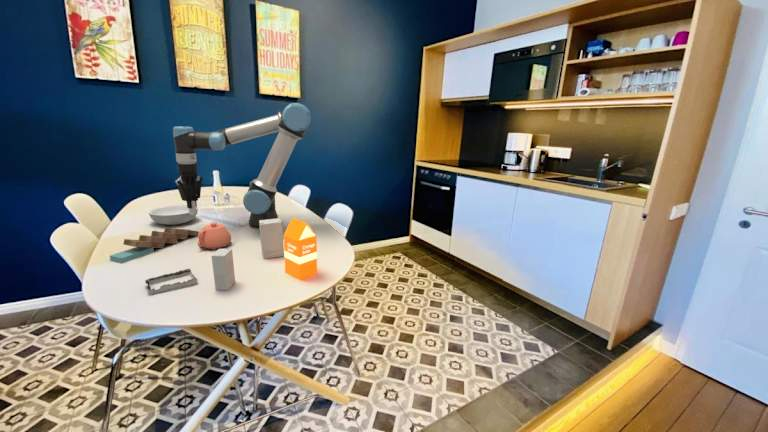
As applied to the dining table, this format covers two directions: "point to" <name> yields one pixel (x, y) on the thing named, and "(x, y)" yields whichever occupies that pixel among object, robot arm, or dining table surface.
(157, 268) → the dining table surface
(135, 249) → the domino
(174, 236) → the domino
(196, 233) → the domino
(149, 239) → the domino
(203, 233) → the sugar bowl
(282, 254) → the skincare box
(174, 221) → the serving bowl
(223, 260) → the skincare box
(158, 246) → the domino
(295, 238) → the orange juice
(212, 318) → the dining table surface
